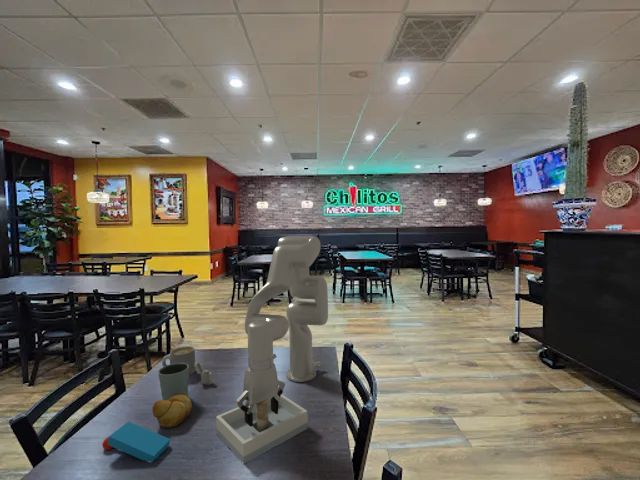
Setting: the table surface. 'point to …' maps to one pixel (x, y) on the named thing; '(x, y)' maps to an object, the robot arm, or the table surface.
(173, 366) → the green cup
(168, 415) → the bread roll
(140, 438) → the lever
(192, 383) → the table surface
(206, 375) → the lighter
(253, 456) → the tray
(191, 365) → the coffee mug
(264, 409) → the peg
